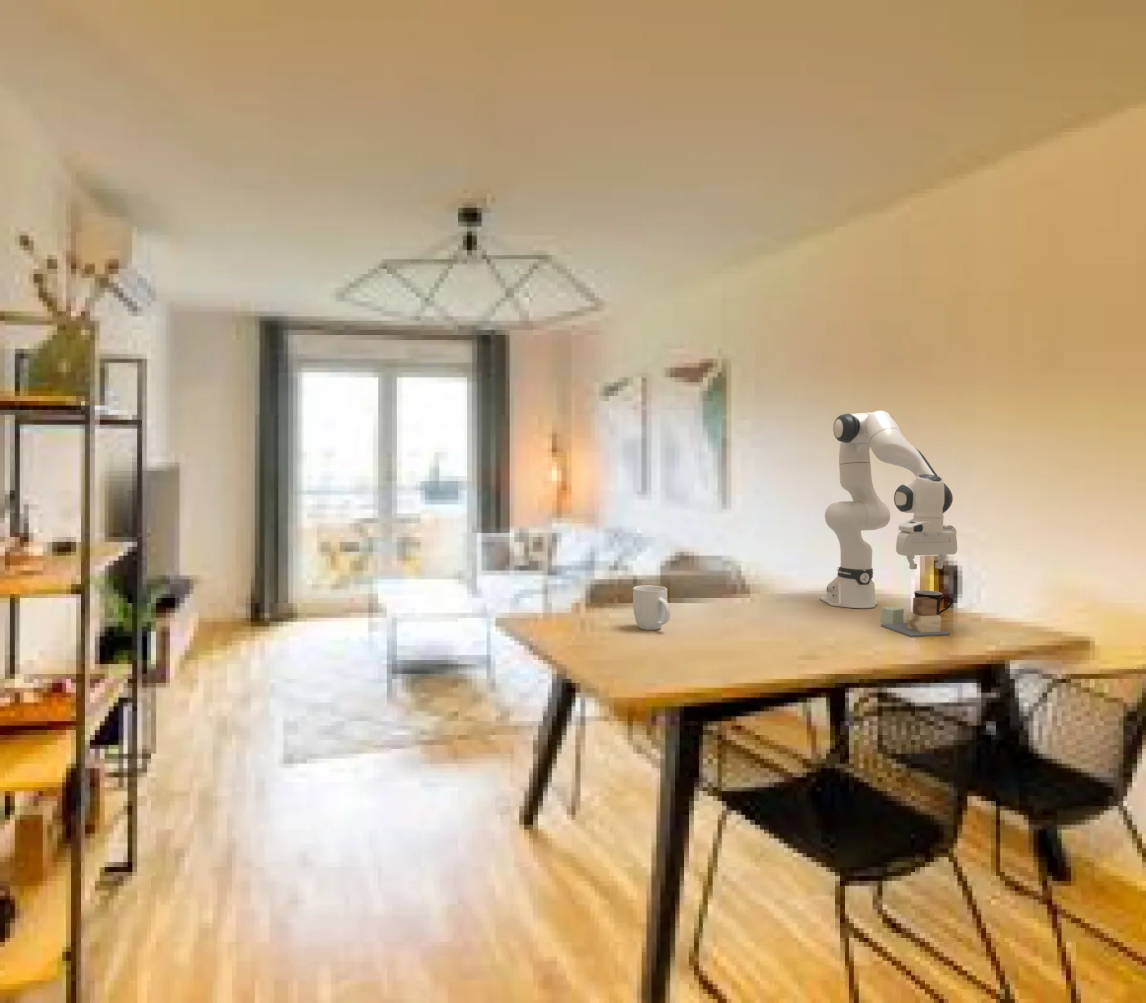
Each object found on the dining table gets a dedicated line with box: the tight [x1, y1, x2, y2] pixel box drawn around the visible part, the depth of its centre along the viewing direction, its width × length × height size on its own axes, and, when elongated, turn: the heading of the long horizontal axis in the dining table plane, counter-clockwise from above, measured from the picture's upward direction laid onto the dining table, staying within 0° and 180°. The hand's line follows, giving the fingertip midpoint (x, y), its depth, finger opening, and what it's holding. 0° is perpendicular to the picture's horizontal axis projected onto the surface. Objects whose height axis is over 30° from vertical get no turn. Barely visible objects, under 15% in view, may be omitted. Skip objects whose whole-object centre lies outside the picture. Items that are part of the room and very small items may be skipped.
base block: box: [907, 611, 942, 633], centre depth 264 cm, size 7×7×5 cm
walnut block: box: [912, 597, 937, 616], centre depth 264 cm, size 5×5×5 cm
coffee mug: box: [914, 589, 953, 616], centre depth 279 cm, size 12×9×10 cm
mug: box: [632, 584, 671, 631], centre depth 264 cm, size 15×11×13 cm
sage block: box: [880, 606, 905, 624], centre depth 277 cm, size 5×5×5 cm
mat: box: [880, 622, 951, 638], centre depth 266 cm, size 16×14×1 cm
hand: (926, 568), depth 263 cm, fingers open, 8 cm apart
